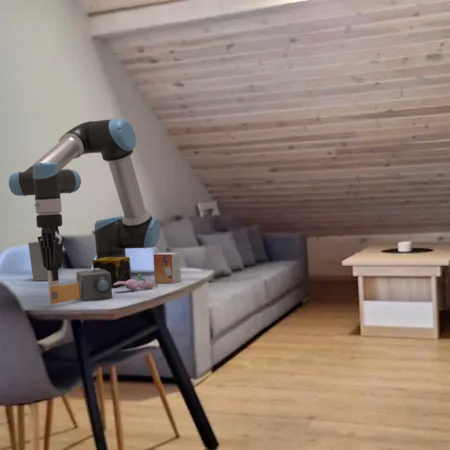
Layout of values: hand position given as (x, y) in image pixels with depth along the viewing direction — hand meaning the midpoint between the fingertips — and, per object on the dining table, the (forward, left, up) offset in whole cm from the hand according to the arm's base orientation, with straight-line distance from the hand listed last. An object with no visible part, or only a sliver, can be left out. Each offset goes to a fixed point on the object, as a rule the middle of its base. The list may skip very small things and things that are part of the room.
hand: (54, 291), depth 200 cm
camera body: (-8, +13, -5) cm, 16 cm away
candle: (-30, +24, -5) cm, 38 cm away
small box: (-24, +43, -5) cm, 49 cm away
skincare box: (-67, +4, -5) cm, 67 cm away
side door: (0, +4, -4) cm, 5 cm away
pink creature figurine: (-13, +28, -5) cm, 31 cm away
